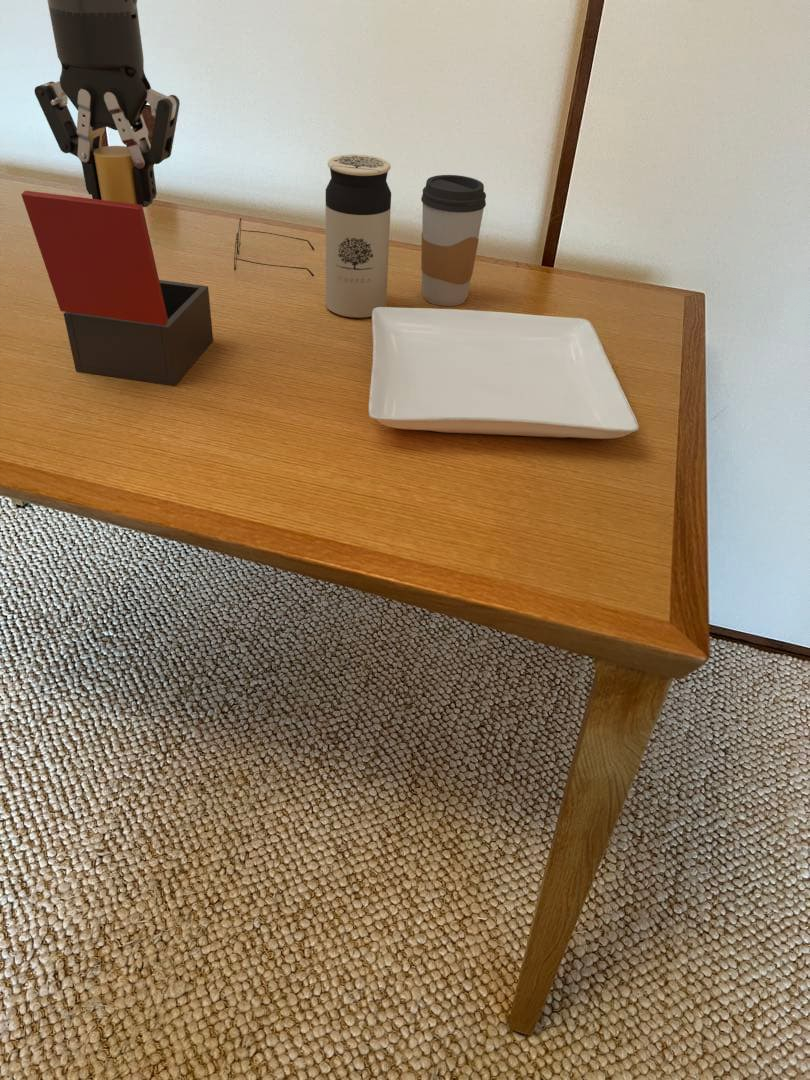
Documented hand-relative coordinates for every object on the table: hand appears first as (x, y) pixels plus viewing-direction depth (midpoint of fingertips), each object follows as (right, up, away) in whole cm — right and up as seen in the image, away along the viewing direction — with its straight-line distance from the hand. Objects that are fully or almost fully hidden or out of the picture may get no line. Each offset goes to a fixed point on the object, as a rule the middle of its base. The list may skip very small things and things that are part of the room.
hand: (123, 201), depth 83 cm
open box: (-1, -13, +11) cm, 17 cm away
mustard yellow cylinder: (0, 0, 0) cm, 0 cm away
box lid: (-1, -7, -3) cm, 7 cm away
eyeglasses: (+10, +6, +35) cm, 37 cm away
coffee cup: (+34, -1, +29) cm, 45 cm away
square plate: (+38, -17, +10) cm, 43 cm away
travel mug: (+22, -4, +25) cm, 34 cm away
